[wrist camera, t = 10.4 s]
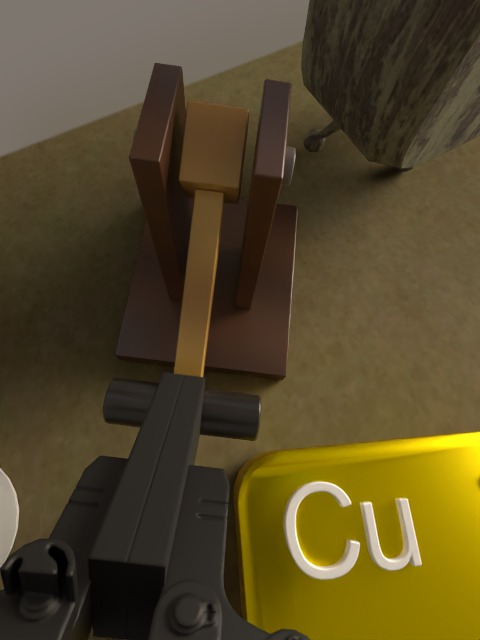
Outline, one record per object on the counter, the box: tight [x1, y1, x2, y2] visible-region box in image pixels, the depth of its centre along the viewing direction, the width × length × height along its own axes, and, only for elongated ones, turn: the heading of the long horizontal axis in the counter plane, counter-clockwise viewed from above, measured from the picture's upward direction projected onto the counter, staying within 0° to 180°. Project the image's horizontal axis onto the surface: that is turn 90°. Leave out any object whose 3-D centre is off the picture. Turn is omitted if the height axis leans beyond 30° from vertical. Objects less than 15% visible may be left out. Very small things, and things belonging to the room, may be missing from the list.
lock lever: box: [103, 100, 261, 441], centre depth 15 cm, size 12×6×2 cm, turn 173°
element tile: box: [233, 431, 480, 640], centre depth 17 cm, size 15×15×5 cm
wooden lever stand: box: [115, 63, 298, 380], centre depth 19 cm, size 12×10×13 cm
